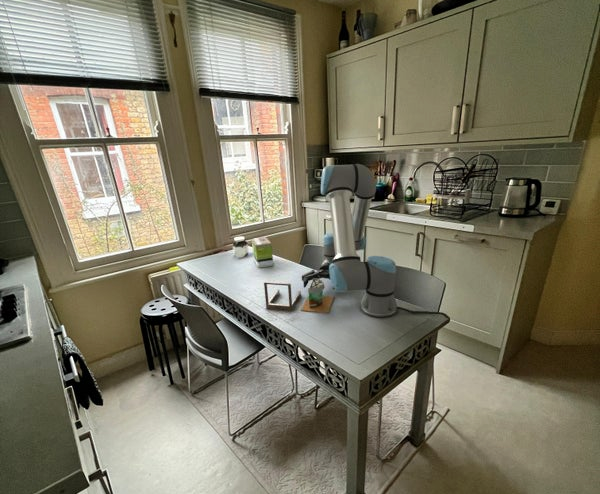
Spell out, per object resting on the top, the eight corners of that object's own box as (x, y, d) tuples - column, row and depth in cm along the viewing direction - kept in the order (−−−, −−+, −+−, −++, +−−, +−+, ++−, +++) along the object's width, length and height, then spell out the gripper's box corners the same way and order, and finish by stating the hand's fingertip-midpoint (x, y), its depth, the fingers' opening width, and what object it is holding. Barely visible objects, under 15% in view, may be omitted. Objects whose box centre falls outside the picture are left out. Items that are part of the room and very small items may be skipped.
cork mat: (333, 298, 150) (333, 297, 149) (327, 313, 136) (327, 312, 136) (309, 296, 153) (309, 295, 152) (301, 310, 139) (301, 310, 139)
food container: (322, 310, 138) (322, 289, 134) (309, 309, 140) (308, 288, 135) (326, 297, 149) (326, 278, 145) (313, 297, 151) (312, 277, 146)
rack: (301, 295, 154) (300, 270, 148) (291, 311, 139) (290, 284, 134) (277, 293, 157) (275, 269, 151) (266, 308, 143) (263, 282, 137)
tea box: (253, 260, 205) (251, 238, 199) (268, 258, 208) (266, 236, 201) (257, 268, 192) (255, 244, 186) (273, 265, 194) (271, 242, 188)
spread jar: (244, 251, 223) (242, 235, 219) (253, 255, 215) (251, 238, 211) (229, 255, 217) (227, 239, 212) (238, 259, 209) (235, 242, 204)
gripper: (351, 277, 160) (346, 295, 142) (304, 274, 167) (293, 291, 148) (352, 263, 157) (346, 279, 139) (303, 261, 164) (292, 276, 145)
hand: (318, 285), depth 143 cm, fingers open, 13 cm apart
